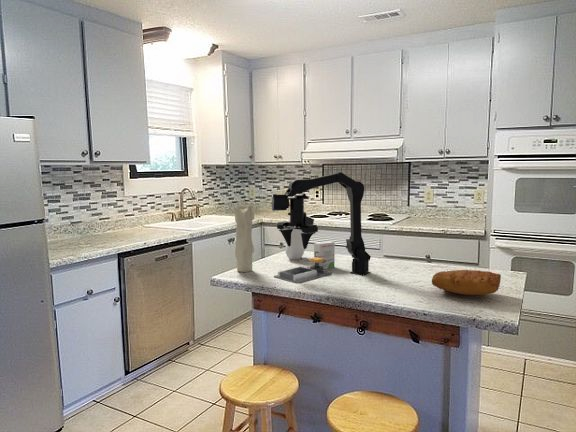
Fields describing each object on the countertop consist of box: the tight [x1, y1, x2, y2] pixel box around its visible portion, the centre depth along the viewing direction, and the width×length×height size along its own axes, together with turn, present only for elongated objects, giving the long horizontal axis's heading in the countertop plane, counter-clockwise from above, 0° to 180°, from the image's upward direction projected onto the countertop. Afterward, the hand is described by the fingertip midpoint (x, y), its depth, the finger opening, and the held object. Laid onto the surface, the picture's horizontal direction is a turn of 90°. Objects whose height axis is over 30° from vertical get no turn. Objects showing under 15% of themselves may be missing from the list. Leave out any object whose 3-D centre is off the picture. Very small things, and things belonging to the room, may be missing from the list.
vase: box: [233, 203, 255, 273], centre depth 186 cm, size 9×8×30 cm
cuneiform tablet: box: [431, 269, 502, 296], centre depth 149 cm, size 22×17×8 cm
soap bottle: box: [285, 202, 306, 261], centre depth 210 cm, size 13×10×29 cm
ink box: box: [313, 240, 336, 270], centre depth 191 cm, size 8×5×12 cm, turn 123°
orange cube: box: [309, 257, 324, 267], centre depth 184 cm, size 4×4×4 cm
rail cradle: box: [273, 265, 333, 284], centre depth 178 cm, size 14×21×3 cm, turn 134°
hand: (297, 247), depth 174 cm, fingers open, 9 cm apart
